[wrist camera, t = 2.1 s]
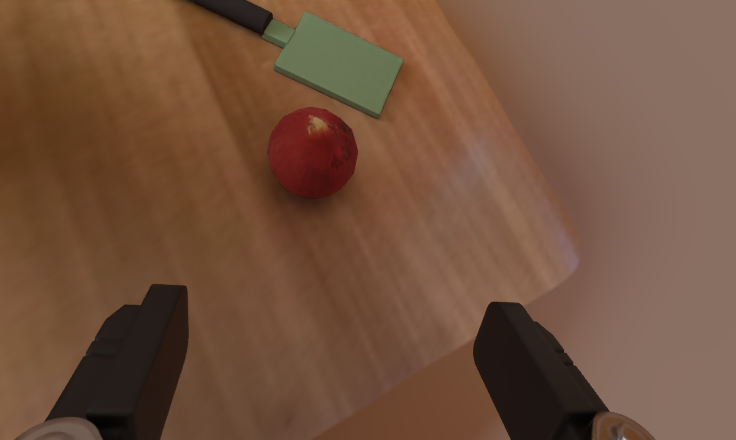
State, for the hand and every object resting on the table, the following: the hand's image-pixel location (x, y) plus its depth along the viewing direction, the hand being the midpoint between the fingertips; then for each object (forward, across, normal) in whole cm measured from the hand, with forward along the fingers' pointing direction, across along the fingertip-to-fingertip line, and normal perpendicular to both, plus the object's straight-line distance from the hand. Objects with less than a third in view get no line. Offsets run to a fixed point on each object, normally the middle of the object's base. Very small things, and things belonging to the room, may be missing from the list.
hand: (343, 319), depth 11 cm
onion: (+21, 0, +4) cm, 21 cm away
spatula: (+29, +4, -4) cm, 30 cm away
